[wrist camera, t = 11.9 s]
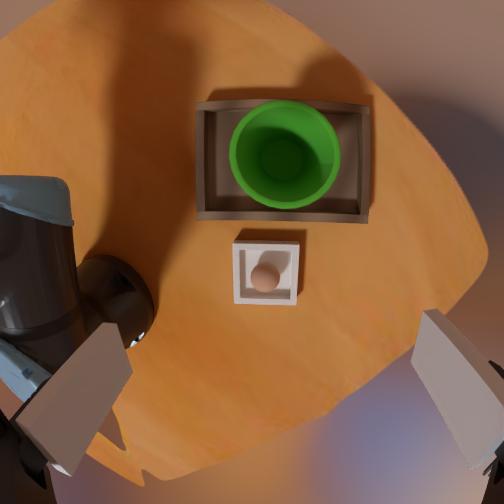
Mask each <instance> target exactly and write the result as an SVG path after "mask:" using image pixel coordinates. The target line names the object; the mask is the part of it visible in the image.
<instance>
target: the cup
mask: <svg viewBox="0 0 504 504" xmlns="http://www.w3.org/2000/svg"><path fill="white" fill-rule="evenodd" d="M229 160H230V165H231V170H232V172H233V174H234V177H235V179H236V181H237V183H238V184H239V185H240V186H241V188H242V189H243V190H244V191H245V192H246V193H247V194H248V195H249V196H251V197H252V198H253V199H255V200H256V201H258V202H260V203H262V204H264V205H267V206H269V207H274V208H279V209H295V208H299V207H302V206H306V205H309V204H311V203H312V202H314V201H316V200H318V199H320V198H321V197H322V196H323V195H324V194H325V193H326V192H327V191H328V190H329V189H330V188H331V186H332V184H333V183H334V181H335V180H336V178H337V175H338V172H339V169H340V165H341V148H340V143H339V139H338V136H337V134H336V132H335V130H334V128H333V126H332V125H331V124H330V122H329V121H328V120H327V119H326V117H325V116H323V115H322V114H321V113H320V112H318V111H317V110H316V109H314V108H312V107H310V106H308V105H306V104H304V103H301V102H296V101H291V100H275V101H271V102H267V103H264V104H261V105H259V106H258V107H256V108H254V109H252V110H251V111H249V112H248V113H247V114H246V115H245V116H244V117H243V118H242V119H241V120H240V122H239V123H238V125H237V126H236V128H235V130H234V131H233V135H232V138H231V141H230V146H229Z"/></svg>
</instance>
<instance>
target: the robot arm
mask: <svg viewBox="0 0 504 504" xmlns="http://www.w3.org/2000/svg"><path fill="white" fill-rule="evenodd" d="M72 226H74V221H73V220H72V214H71V203H70V191H69V188H68V186H67V184H66V183H65V182H64V181H63V180H62V179H60V178H57V177H49V176H24V175H0V377H1V379H2V380H3V381H4V382H5V384H6V385H7V386H8V387H9V388H10V389H11V390H12V391H13V392H14V394H15V395H17V397H19V398H20V399H21V400H22V401H23V402H24V404H23V405H22V406H21V407H20V408H19V410H18V411H17V412H16V413H15V414H14V416H13V417H12V418H11V419H10V420H9V421H8V419H7V418H6V416H5V415H4V414H3V412H2V411H1V409H0V504H57V502H56V499H55V494H54V490H53V486H52V481H51V476H50V471H49V469H48V467H47V466H46V463H47V462H48V461H49V462H50V463H51V464H52V465H53V466H54V467H55V468H56V469H57V470H59V471H61V472H63V473H65V474H67V475H69V476H72V475H73V473H74V471H75V470H76V468H77V466H78V464H79V462H80V460H81V459H82V457H83V455H84V453H85V452H86V450H87V448H88V446H89V445H90V443H91V441H92V439H93V438H94V436H95V434H96V433H97V431H98V429H99V427H100V426H101V424H102V422H103V421H104V419H105V417H106V415H107V414H108V412H109V410H110V409H111V407H112V405H113V404H114V402H115V401H116V399H117V397H118V396H119V394H120V392H121V391H122V389H123V387H124V386H125V384H126V383H127V381H128V379H129V378H130V376H131V374H132V373H133V370H132V368H131V365H130V362H129V359H128V357H127V354H126V351H125V349H127V348H129V347H131V346H133V345H135V344H137V343H138V342H139V341H141V340H142V339H143V337H144V336H145V335H146V333H147V332H148V331H149V329H150V327H151V325H152V322H153V317H154V308H153V302H152V298H151V295H150V292H149V290H148V288H147V286H146V284H145V283H144V281H143V280H142V278H141V277H140V276H139V274H138V273H137V272H136V271H135V270H134V269H133V268H132V267H131V266H129V265H128V264H127V263H125V262H124V261H122V260H120V259H118V258H116V257H113V256H108V255H97V256H94V257H91V258H90V259H88V260H86V261H84V262H82V263H81V264H80V265H79V266H78V267H77V268H76V260H75V251H74V241H73V228H72ZM411 364H412V365H413V367H414V369H415V370H416V372H417V374H418V375H419V377H420V378H421V380H422V382H423V383H424V385H425V387H426V389H427V390H428V392H429V394H430V395H431V397H432V399H433V400H434V402H435V404H436V406H437V407H438V409H439V411H440V413H441V415H442V417H443V418H444V420H445V422H446V424H447V426H448V428H449V430H450V432H451V433H452V435H453V437H454V439H455V441H456V443H457V445H458V447H459V449H460V451H461V453H462V455H463V457H464V459H465V461H466V463H467V466H468V468H469V470H473V469H474V468H476V467H478V466H480V465H482V464H484V463H485V462H486V461H487V460H488V459H489V458H490V457H491V456H492V454H493V453H494V452H495V454H496V456H497V458H496V459H495V460H494V461H493V462H492V463H491V464H490V465H489V466H488V467H487V468H486V469H485V471H484V473H483V475H486V474H487V472H488V471H489V470H490V469H491V468H492V469H491V472H490V474H489V475H488V476H490V477H489V481H488V484H487V488H486V491H485V494H484V497H483V500H482V503H481V504H504V370H503V369H502V368H501V367H500V366H499V365H497V364H496V363H494V362H492V361H487V360H486V359H485V358H484V357H483V356H482V355H481V354H480V353H479V351H478V350H477V349H476V348H475V347H474V346H473V345H472V344H471V343H470V342H469V341H468V340H467V339H466V337H465V336H464V335H463V334H462V333H461V332H460V331H459V330H458V329H457V328H456V327H455V326H454V325H453V324H452V323H451V322H450V321H449V320H448V319H447V318H446V317H445V316H444V315H443V314H442V313H441V312H440V311H439V310H438V309H433V310H426V311H423V314H422V319H421V323H420V328H419V332H418V336H417V340H416V344H415V348H414V352H413V355H412V359H411Z"/></svg>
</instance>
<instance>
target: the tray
mask: <svg viewBox="0 0 504 504" xmlns="http://www.w3.org/2000/svg"><path fill="white" fill-rule="evenodd" d="M275 100H291V101H296V102H301V103H304V104H306V105H308V106H310V107H312V108H314V109H316V110H317V111H318V112H320V113H321V114H322V115H323V116H325V117H326V119H327V120H328V121H329V122H330V124H331V125H332V126H333V128H334V130H335V132H336V134H337V136H338V139H339V143H340V148H341V165H340V169H339V172H338V175H337V178H336V180H335V181H334V183H333V184H332V186H331V188H330V189H329V190H328V191H327V192H326V193H325V194H324V195H323V196H322V197H321V198H320V199H318V200H316V201H314V202H312V203H311V204H309V205H306V206H302V207H299V208H295V209H279V208H274V207H269V206H267V205H264V204H262V203H260V202H258V201H256V200H255V199H253V198H252V197H251V196H249V195H248V194H247V193H246V192H245V191H244V190H243V189H242V188H241V186H240V185H239V184H238V183H237V181H236V179H235V177H234V174H233V172H232V170H231V165H230V160H229V146H230V141H231V138H232V135H233V131H234V130H235V128H236V126H237V125H238V123H239V122H240V120H241V119H242V118H243V117H244V116H245V115H246V114H247V113H248V112H249V111H251V110H252V109H254V108H256V107H258V106H259V105H261V104H264V103H267V102H271V101H275ZM195 150H196V205H197V220H261V221H306V222H336V223H360V224H368V215H369V198H370V170H371V133H370V106H364V105H356V104H348V103H338V102H327V101H314V100H293V99H243V100H223V101H209V102H198V103H196V137H195Z"/></svg>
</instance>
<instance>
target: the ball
mask: <svg viewBox="0 0 504 504" xmlns="http://www.w3.org/2000/svg"><path fill="white" fill-rule="evenodd" d="M250 279H251V283H252V285H253V286H254V288H255V289H257V290H258V291H261V292H270V291H272V290H274V289H275V288H276V287H277V286H278V284H279V282H280V273H279V271H278V269H277V268H276V267H275V266H274V265H273V264H271V263H260V264H258V265H256V266H255V267H254V268H253V270H252V272H251V276H250Z"/></svg>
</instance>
